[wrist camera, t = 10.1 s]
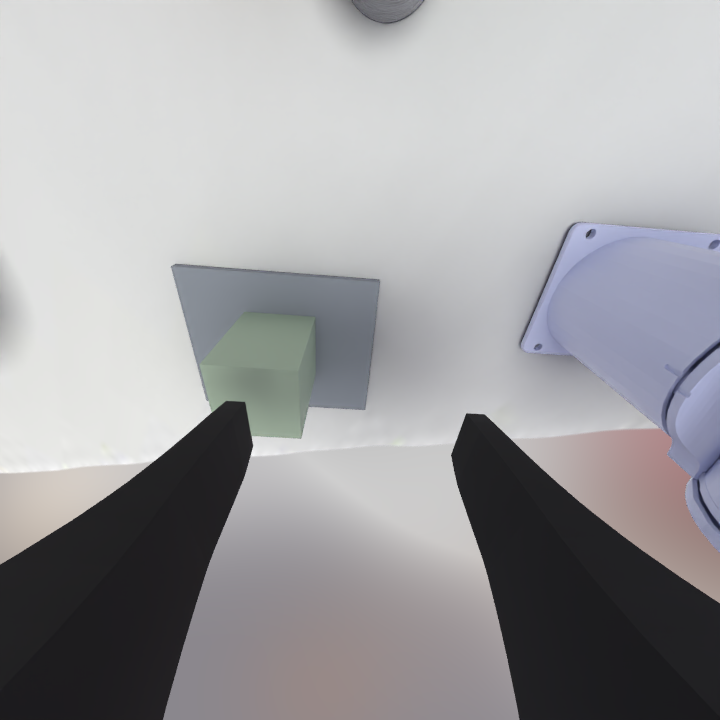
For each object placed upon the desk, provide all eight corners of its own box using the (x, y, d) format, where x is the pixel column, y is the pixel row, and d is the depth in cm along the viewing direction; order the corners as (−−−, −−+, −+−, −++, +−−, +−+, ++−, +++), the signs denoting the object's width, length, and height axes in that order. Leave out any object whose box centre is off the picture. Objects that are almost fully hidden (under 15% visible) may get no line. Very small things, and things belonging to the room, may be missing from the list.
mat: (379, 279, 17) (379, 282, 17) (365, 405, 23) (365, 409, 22) (175, 264, 17) (170, 266, 17) (209, 396, 22) (206, 400, 22)
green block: (315, 316, 18) (298, 370, 13) (315, 374, 21) (301, 438, 15) (244, 311, 18) (199, 364, 13) (252, 369, 20) (217, 434, 15)
